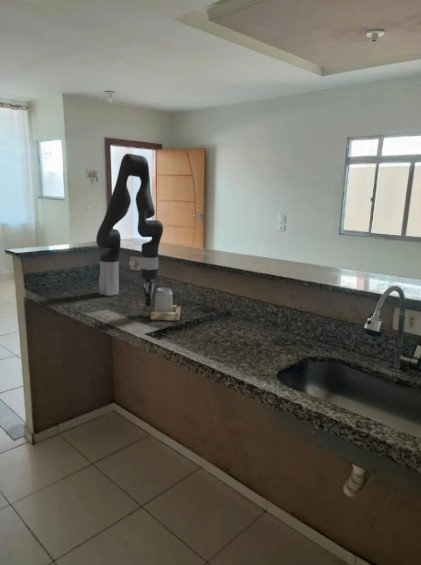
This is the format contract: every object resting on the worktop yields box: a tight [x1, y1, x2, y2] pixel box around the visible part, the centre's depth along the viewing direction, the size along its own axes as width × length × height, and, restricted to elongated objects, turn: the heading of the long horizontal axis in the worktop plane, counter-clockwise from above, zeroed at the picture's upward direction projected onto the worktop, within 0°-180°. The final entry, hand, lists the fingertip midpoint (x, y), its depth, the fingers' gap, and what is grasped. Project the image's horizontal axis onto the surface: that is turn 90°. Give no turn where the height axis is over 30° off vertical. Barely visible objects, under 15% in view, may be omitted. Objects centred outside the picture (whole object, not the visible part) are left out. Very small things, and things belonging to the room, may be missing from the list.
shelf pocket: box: [150, 289, 182, 322], centre depth 176 cm, size 12×13×10 cm
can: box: [154, 287, 174, 312], centre depth 175 cm, size 8×8×12 cm
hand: (148, 306), depth 176 cm, fingers closed
